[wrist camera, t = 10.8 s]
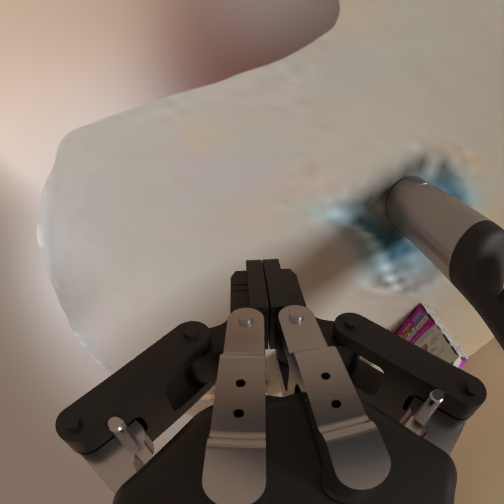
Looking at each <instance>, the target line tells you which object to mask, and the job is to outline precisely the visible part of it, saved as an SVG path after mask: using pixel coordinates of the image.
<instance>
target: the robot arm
mask: <svg viewBox="0 0 504 504" xmlns="http://www.w3.org/2000/svg"><path fill="white" fill-rule="evenodd" d="M386 210H387V215H388V218H389V220H390V222H391V223H392V224H393V225H394V226H395V227H396V228H397V229H398V230H399V231H400V232H402V233H403V234H404V235H405V236H406V237H407V238H408V239H409V240H410V241H411V242H412V243H413V244H414V245H415V246H416V247H417V248H418V249H419V250H420V251H421V252H422V253H423V254H424V255H425V256H426V257H427V258H428V259H429V260H430V261H431V262H432V263H433V264H434V265H435V266H436V267H437V268H438V269H439V270H440V271H441V272H442V273H443V274H444V275H445V276H446V277H447V278H448V279H449V281H450V282H451V283H452V284H453V285H454V286H455V287H456V288H457V289H458V290H459V291H460V292H461V293H462V294H463V296H464V297H465V298H466V299H467V300H468V301H469V302H470V304H471V305H472V306H473V307H474V308H475V310H476V311H477V312H478V313H479V315H480V316H481V317H482V319H483V320H484V322H485V323H486V324H487V326H488V327H489V329H490V330H491V332H492V333H493V335H494V336H495V338H496V339H497V341H498V342H499V344H500V345H501V347H502V348H503V350H504V289H503V284H504V230H503V229H502V228H501V227H500V226H498V225H497V224H495V223H494V222H492V221H491V220H489V219H488V218H486V217H485V216H483V215H482V214H480V213H479V212H477V211H476V210H474V209H472V208H471V207H469V206H468V205H466V204H465V203H463V202H461V201H460V200H458V199H456V198H455V197H453V196H451V195H450V194H448V193H446V192H445V191H443V190H441V189H439V188H438V187H436V186H434V185H433V184H431V183H429V182H427V181H425V180H423V179H422V178H419V177H416V176H409V177H406V178H403V179H401V180H400V181H399V182H397V183H396V184H395V185H394V187H393V188H392V190H391V191H390V193H389V196H388V199H387V205H386ZM268 340H269V348H270V349H276V366H277V370H278V374H279V377H280V381H281V385H282V389H283V393H284V397H277V396H269V395H265V349H268ZM360 356H362V357H363V358H365V359H367V360H368V361H370V362H372V363H373V364H375V365H377V366H378V367H380V368H381V369H382V370H383V372H384V373H382V372H380V371H379V370H377V369H375V368H374V367H372V366H370V365H369V364H367V363H365V362H364V361H362V360H360V359H359V358H360ZM216 381H217V382H216ZM215 383H216V389H215V397H214V405H212V406H210V407H208V408H206V409H204V410H202V411H201V412H199V413H198V414H197V415H195V416H194V417H193V418H192V419H191V420H190V421H189V422H188V423H187V424H186V425H185V426H184V427H183V428H182V429H181V430H180V431H179V432H178V433H177V434H176V435H175V436H174V437H173V438H172V439H171V440H170V441H169V442H168V443H167V444H166V445H165V446H164V447H163V448H162V449H161V450H160V451H159V452H158V453H157V454H155V456H153V457H152V455H153V453H154V445H153V441H154V440H155V439H156V438H157V437H159V436H160V435H161V434H162V433H163V432H164V431H165V430H166V429H168V428H169V427H170V426H171V425H172V424H173V423H174V422H175V421H176V420H178V419H179V418H180V417H181V416H182V415H183V414H184V413H185V412H186V411H187V410H189V409H190V408H191V407H192V406H193V405H194V404H195V403H196V402H197V401H198V400H199V399H200V398H201V397H202V396H203V395H205V394H206V393H207V392H208V391H209V390H210V389H211V388H212V387H213V386H214V385H215ZM486 393H487V392H486V388H485V386H484V384H483V383H482V382H481V381H480V380H479V379H478V378H476V377H474V376H472V375H470V374H469V373H467V372H465V371H463V370H461V369H459V368H457V367H456V366H454V365H452V364H450V363H448V362H446V361H444V360H443V359H441V358H439V357H437V356H435V355H433V354H431V353H430V352H428V351H426V350H424V349H422V348H420V347H418V346H417V345H415V344H413V343H411V342H409V341H407V340H405V339H404V338H402V337H400V336H398V335H396V334H394V333H392V332H391V331H389V330H387V329H385V328H383V327H381V326H380V325H378V324H376V323H374V322H372V321H370V320H368V319H367V318H365V317H363V316H361V315H359V314H356V313H344V314H341V315H339V316H338V317H337V318H336V319H335V321H328V320H322V319H319V318H316V317H315V316H314V314H313V313H312V311H311V310H310V309H308V308H306V304H305V301H304V298H303V295H302V292H301V289H300V286H299V283H298V279H297V276H296V274H295V273H294V272H293V271H291V270H290V269H281V268H280V264H279V260H278V259H265V260H246V271H235V273H234V274H233V275H232V277H231V313H230V315H229V317H228V320H227V321H226V322H224V323H223V324H221V325H219V326H216V327H212V328H208V327H207V326H206V325H205V324H203V323H201V322H197V321H189V322H185V323H182V324H180V325H179V326H177V327H176V328H174V329H173V330H172V331H170V332H169V333H168V334H166V335H165V336H164V337H162V338H161V339H160V340H158V341H157V342H156V343H154V344H153V345H152V346H150V347H149V348H148V349H146V350H145V351H144V352H142V353H141V354H140V355H138V356H137V357H136V358H134V359H133V360H132V361H130V362H129V363H127V364H126V365H125V366H123V367H122V368H121V369H119V370H118V371H117V372H115V373H114V374H113V375H111V376H110V377H108V378H107V379H106V380H104V381H103V382H102V383H100V384H99V385H97V386H96V387H95V388H93V389H92V390H91V391H89V392H88V393H86V394H85V395H84V396H82V397H81V398H80V399H78V400H77V401H75V402H74V403H73V404H71V405H70V406H69V407H67V408H66V409H64V410H63V411H62V412H61V413H60V414H59V416H58V417H57V420H56V431H57V433H58V435H59V436H60V437H61V438H62V439H63V440H64V441H65V442H66V443H67V444H68V445H69V446H70V448H71V449H72V450H73V451H74V452H75V453H77V454H78V455H79V456H80V457H81V458H82V459H84V460H85V461H86V462H87V463H88V464H89V465H90V466H91V467H92V469H93V470H94V471H95V472H96V473H97V474H98V476H99V477H100V478H101V479H102V480H103V481H104V482H105V483H106V484H107V486H108V487H109V488H110V489H111V490H112V491H113V492H114V493H115V497H114V499H113V504H454V496H455V489H456V483H457V471H456V467H455V464H454V462H453V460H452V459H451V457H450V454H451V452H452V450H453V448H454V446H455V444H456V442H457V440H458V438H459V436H460V434H461V431H462V429H463V427H464V425H465V423H466V421H467V420H468V419H469V418H470V417H471V416H472V415H473V414H474V413H475V411H476V410H477V409H478V408H479V407H480V406H481V404H482V403H483V402H484V401H485V399H486V395H487V394H486ZM151 457H152V458H151ZM150 458H151V459H150Z"/></svg>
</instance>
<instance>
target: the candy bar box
mask: <svg viewBox="0 0 504 504" xmlns="http://www.w3.org/2000/svg"><path fill="white" fill-rule="evenodd" d="M395 334H396V335H398V336H400V337H402V338H404V339H405V340H407V341H409V342H411V343H413V344H415V345H417V346H418V347H420V348H422V349H424V350H426V351H428V352H430V353H431V354H433V355H435V356H437V357H439V358H441V359H443V360H444V361H446V362H448V363H450V364H452V365H454V366H456V367H457V368H459V369H460V368H461V367H462V366H463V365H464V364H465V363H466V362H467V361H468V358H467V356H466V355H465V353H464V352H463V351H462V349H461V348H460V346H459V345H458V344H457V342H456V341H455V339H454V338H453V337H452V335H451V334H450V333H449V331H448V330H447V328H446V327H445V326H444V324H443V323H442V322H441V320H440V319H439V318H438V317H437V315H436V314H435V313H434V311H433V310H432V309H431V308H429V307H427V306H425V305H423V304H421V303H420V304H419V305H418V306H417V307H416V308H415V310H414V311H413V312H412V313H411V315H410V316H409V317H408V318H407V319H406V321H405V322H404V323H403V324H402V325H401V327H400V328H399V329H398V330H397V331H396V332H395Z"/></svg>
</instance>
